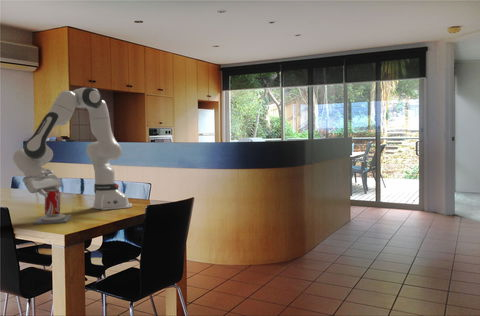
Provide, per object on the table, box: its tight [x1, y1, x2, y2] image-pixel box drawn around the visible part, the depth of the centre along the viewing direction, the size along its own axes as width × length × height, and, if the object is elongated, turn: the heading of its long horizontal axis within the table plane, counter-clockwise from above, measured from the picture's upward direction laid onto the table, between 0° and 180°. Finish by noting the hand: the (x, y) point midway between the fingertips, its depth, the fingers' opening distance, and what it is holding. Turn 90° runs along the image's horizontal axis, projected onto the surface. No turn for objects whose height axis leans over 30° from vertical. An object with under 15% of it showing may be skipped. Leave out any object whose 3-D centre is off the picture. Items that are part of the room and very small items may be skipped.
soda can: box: [44, 188, 61, 216], centre depth 212 cm, size 7×7×13 cm
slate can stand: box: [33, 213, 72, 225], centre depth 212 cm, size 15×15×2 cm
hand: (53, 195), depth 211 cm, fingers closed on soda can, 6 cm apart
